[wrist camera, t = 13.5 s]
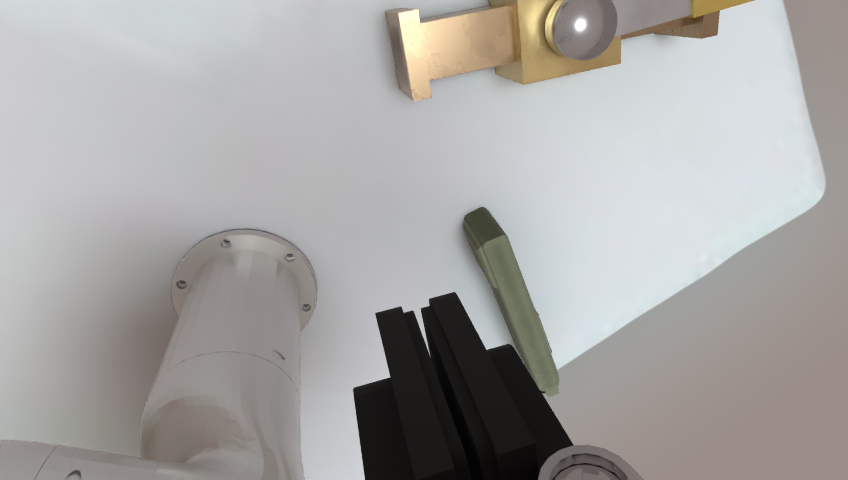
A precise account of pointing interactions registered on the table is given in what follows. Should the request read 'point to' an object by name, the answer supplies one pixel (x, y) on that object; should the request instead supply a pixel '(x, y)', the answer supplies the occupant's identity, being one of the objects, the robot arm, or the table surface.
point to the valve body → (501, 43)
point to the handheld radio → (512, 297)
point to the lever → (614, 21)
